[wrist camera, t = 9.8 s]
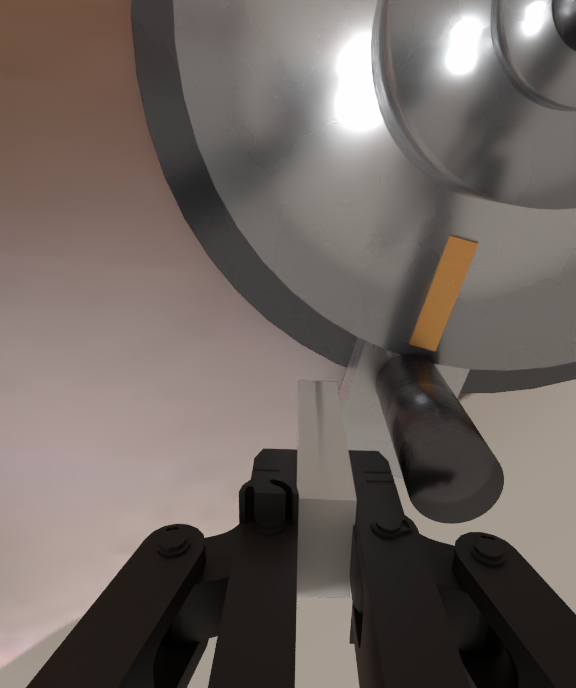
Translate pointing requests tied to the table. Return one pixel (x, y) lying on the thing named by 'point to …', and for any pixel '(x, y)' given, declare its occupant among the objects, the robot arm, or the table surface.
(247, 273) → the turntable base
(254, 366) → the table surface
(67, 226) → the table surface
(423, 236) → the turntable
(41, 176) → the table surface
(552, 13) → the cover
